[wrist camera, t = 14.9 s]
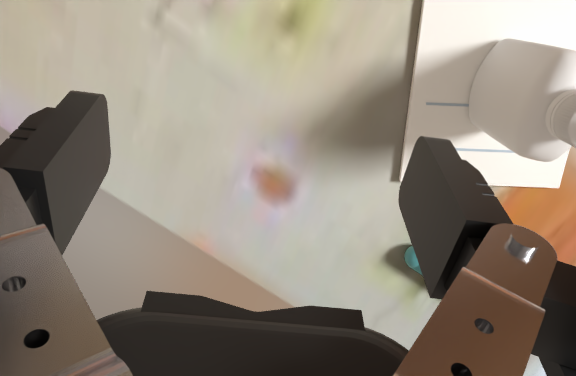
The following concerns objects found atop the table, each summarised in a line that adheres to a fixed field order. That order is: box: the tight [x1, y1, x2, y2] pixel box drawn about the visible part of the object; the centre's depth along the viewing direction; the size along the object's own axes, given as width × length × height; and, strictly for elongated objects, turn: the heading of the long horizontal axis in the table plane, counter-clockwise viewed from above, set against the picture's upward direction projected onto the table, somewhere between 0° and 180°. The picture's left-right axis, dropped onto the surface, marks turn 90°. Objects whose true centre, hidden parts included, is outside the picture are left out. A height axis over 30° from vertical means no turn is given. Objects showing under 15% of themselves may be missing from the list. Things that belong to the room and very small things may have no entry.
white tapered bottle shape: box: [469, 38, 576, 162], centre depth 25 cm, size 4×6×12 cm
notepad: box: [399, 0, 576, 188], centre depth 30 cm, size 11×14×1 cm
